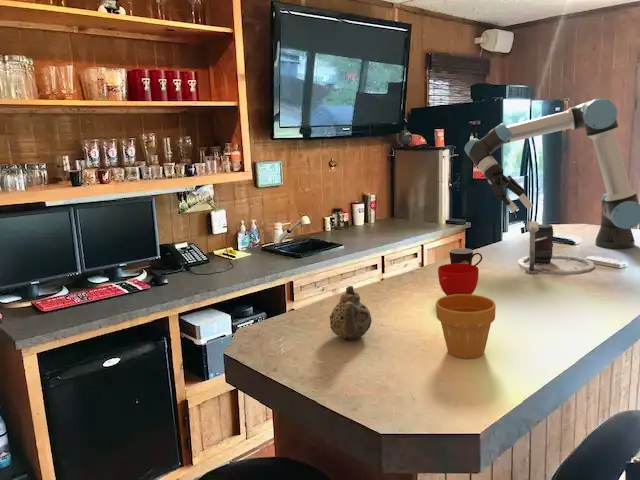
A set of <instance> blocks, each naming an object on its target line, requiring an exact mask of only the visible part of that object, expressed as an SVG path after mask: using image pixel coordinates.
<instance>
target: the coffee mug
mask: <svg viewBox="0 0 640 480" xmlns="http://www.w3.org/2000/svg"><path fill="white" fill-rule="evenodd" d="M448 252H449V260H450V264H455V263H460V264H470V265H473V259H474V257H475V256H476V255H478V256H480V258H479V261H478V262H476V263H475V264H474V266H476V267H477V266H478V265H479V264H480V263H481V262H482V260H483V255H482V254H481V253H479V252H474V250H473V249H470V248H464V247H463V248H461V247H460V248H451V249H449V250H448Z"/></svg>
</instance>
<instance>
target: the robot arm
mask: <svg viewBox="0 0 640 480" xmlns="http://www.w3.org/2000/svg"><path fill="white" fill-rule="evenodd" d="M616 106H617V105H616V104H614V102H612V101H611V100H609V99H607V98H603V97H599V98H593V99H590V100H587V101H586V102H584V103H581V104H578V105H575V106H572V107H568V109H567V110H565V111H562V112H557V113H554V114H549V115H545V116H541V117H537V118H532V119H529V120H525V121H521V122H518V123H512V124H507V125H506V124H505V123H499V124H498V125H497V126H495V127H494V128H492V129H491V130H489V131H488V133H487V134H486V135H485V136H484V137H483V138H480V139H478V138H477V137H475V138H473V139H471V140H468V142H467V143H466V144H465V146H464V152H465V153H466V155H467V157H469V159H470V161H472V162H473V164H474V165H475V166H476V167H477V168H478V169H479V172H481V173H482V175H483V176H484V177H485V179H486V180H487V181H486V184H487V185H488V186H489V188H490V189H491V191H492V193H493V195H494V197H495V199H496V200H497V201H499V202H503V204H505V206H506V207H507V208H508V209H509V210H510V212H511V213H515V212H516V210H518V207H517V205H516V204H515V202H513V201H512V200H511V198H510V197H509V196H507V195H506V191H505V189H507V190H509V191H510V192H512V193H513V194H514V195H516V196H518V199H519V201H520V202H521V203H522V204H523V206H524V207H525V208H526V209H527V210H531V208H532V207H533V206H534V204H533V203H532V202H531V201H530V199H529V198H528V197H527V196H526V195H525V193H526V191H527V190H526V189H525V188H523V187H522V186H521V185H520V184H519V183H518V182H517V181H516V180H515V179H514V178H513V177H512V176H511V175H510V174H509V175H508V176H506V175H505V174H504V169H503V168H502V166H501V164H499V163H498V161H497V160H496V159H495V158H494V157H493V156H492V154H493V153H494V152H495V151H496V150H497V149H499V148H500V147H501V146H503V145H504V144H508V143H513V142H517V141H521V140H525V139H531V138H534V137H538V136H539V137H540V136H542V135H547V134H551V133H552V134H553V133H555V132H556V133H557V132H560V131H564V130H568V129H570V130H572V131H575V130H579V129H584V130H585V133H586V138H589V139H591V140H592V144H593V146H594V150H595V155H596V159H597V162H598V165H599V168H600V170H599V171H600V173H601V176H602V180H603V184H604V188H605V190H606V191H605V192H606V193H604V194H603V195H602V196H601V208H600V209H601V211H600V213H601V214H600V228H599V231H598V233H597V236H596V238H595V240H594V241H595V243H594V244H595V246H598V247H601V248H607V249H629V248H634V247H635V237H634V235H633V232H632V229H633V228H635V227H638V226H639V225H640V202H639V199H638V195H637V192H636V191H635V190H633V189H631V185H630V180H629V177H628V175H627V170H626V166H625V164H624V162H625V161H624V159H623V155H622V152H621V147H620V144H619V140H618V137H617V131H618V129H619V127H620V126H619V124H618V123H619V122H618V120H617V118H618V109H617V107H616Z"/></svg>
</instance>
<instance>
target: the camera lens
mask: <svg viewBox="0 0 640 480" xmlns="http://www.w3.org/2000/svg"><path fill="white" fill-rule="evenodd" d="M543 237H547V238H546V239H543V240H539V241H535V260H534V265H535V264H536V265H549V264H550V263H551V262H552V261H551V260H552V259H553V258H552V254H553V247H554V243H553V240H554V228H553V225H551V224H539V230H538V231H537V232H535V239H539V238H543Z"/></svg>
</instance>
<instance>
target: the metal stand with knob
mask: <svg viewBox="0 0 640 480" xmlns="http://www.w3.org/2000/svg"><path fill="white" fill-rule="evenodd" d="M539 225H540V224H539V222H537V221H536V220H529V221H528V222H527V223H526V225H525V227H526V230H527V232H528V233H529V255H528V256H529V260H528V265H529V269H524V270H525V274H527V275H528V274H529V275H536V274H538V273H539V272H538V270H535V269H534V267H535V263H534V260H535V241H539V240H543V239H546V238H547V237H543V238H539V239H535V232H537V231H538V230H539Z"/></svg>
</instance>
